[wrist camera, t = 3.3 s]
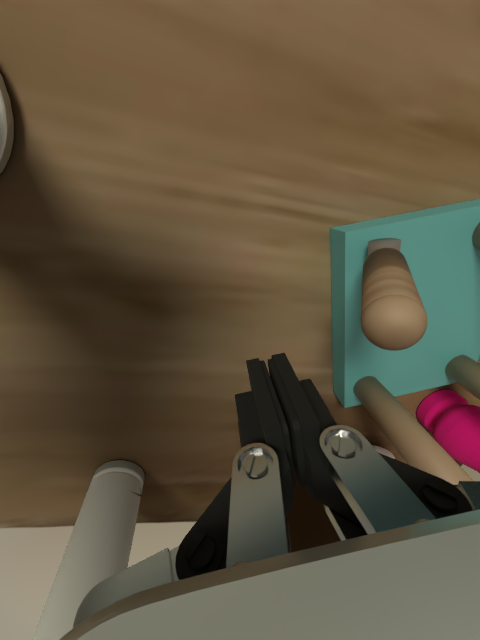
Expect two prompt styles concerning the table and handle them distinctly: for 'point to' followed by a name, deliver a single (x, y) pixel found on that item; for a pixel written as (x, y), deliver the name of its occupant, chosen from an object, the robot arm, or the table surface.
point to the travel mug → (94, 544)
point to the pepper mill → (453, 425)
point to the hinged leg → (390, 298)
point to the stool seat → (441, 334)
